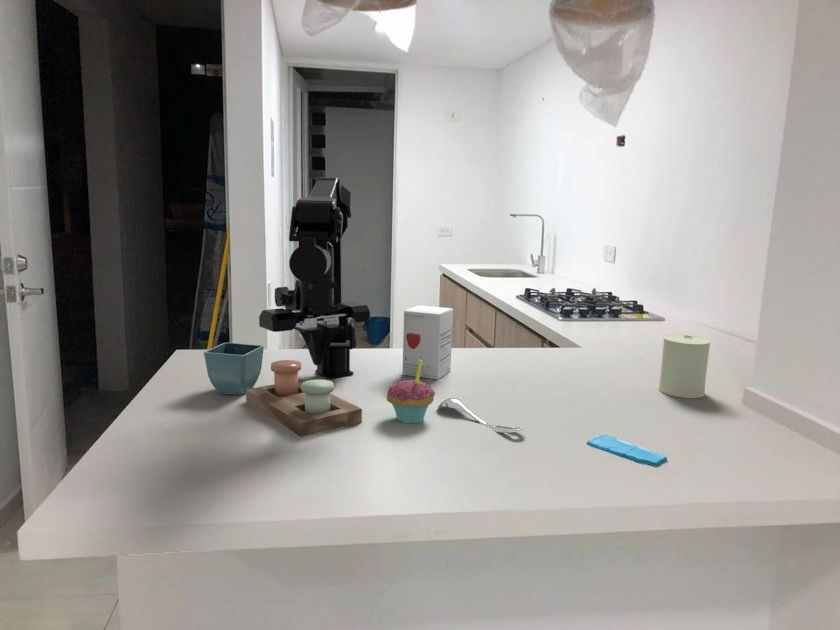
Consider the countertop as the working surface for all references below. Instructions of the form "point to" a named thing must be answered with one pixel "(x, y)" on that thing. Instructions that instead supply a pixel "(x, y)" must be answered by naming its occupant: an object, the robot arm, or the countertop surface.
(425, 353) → the supplement box
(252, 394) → the panel
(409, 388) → the cupcake
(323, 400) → the sage plunger
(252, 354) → the flower pot
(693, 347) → the can
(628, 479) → the countertop surface
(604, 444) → the blue flat block
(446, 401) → the silver spoon
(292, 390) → the terracotta plunger
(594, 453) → the countertop surface
